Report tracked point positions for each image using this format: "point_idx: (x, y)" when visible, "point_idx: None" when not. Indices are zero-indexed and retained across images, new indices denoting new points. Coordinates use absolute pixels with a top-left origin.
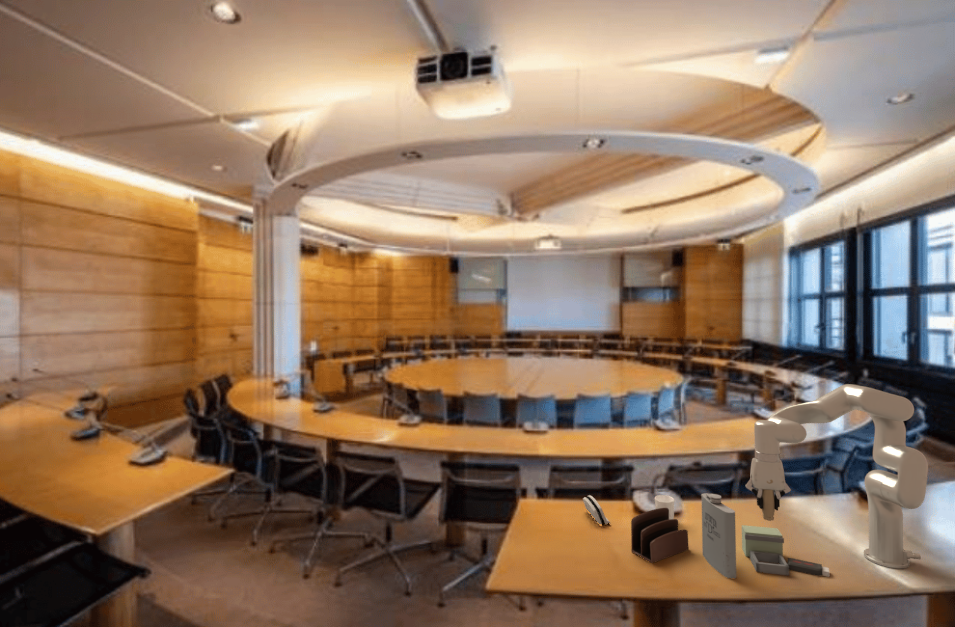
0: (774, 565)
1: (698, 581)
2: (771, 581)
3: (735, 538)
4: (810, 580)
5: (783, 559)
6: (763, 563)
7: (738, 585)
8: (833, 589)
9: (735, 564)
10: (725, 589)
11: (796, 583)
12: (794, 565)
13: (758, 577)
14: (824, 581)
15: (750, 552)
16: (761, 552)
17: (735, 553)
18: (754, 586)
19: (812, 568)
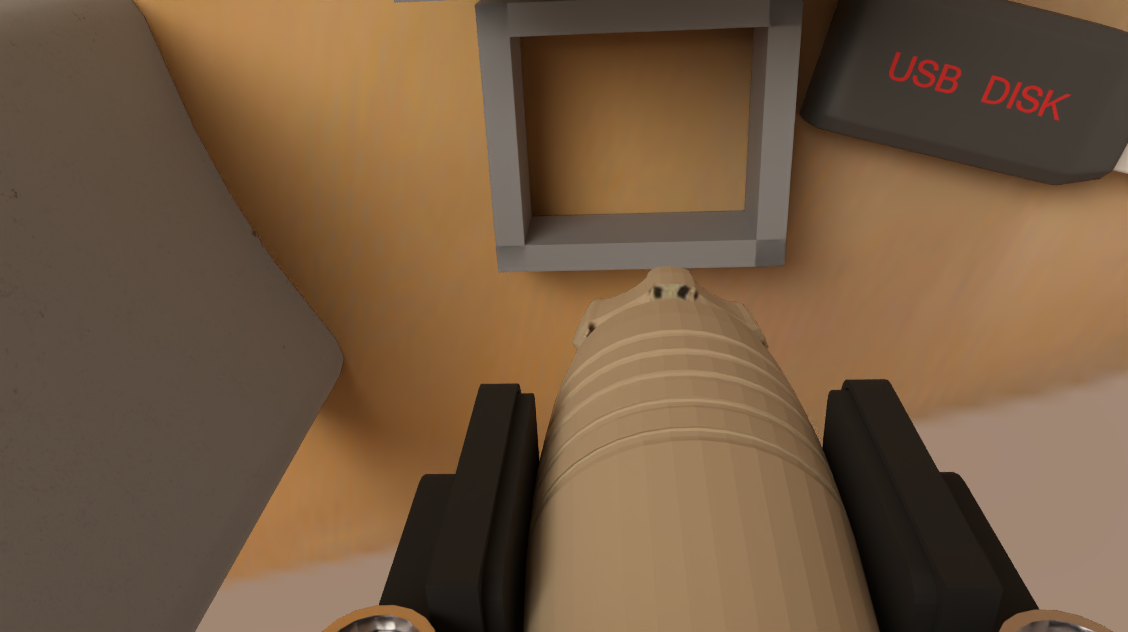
0: (656, 266)
1: None
2: None
3: (210, 591)
4: (919, 269)
5: (783, 126)
6: (562, 262)
7: (353, 463)
8: (1037, 361)
9: (303, 438)
10: (270, 525)
11: (781, 342)
12: (868, 139)
13: (509, 325)
14: (1034, 257)
15: (478, 37)
16: (594, 14)
17: (270, 496)
18: (460, 451)
19: (1019, 168)
